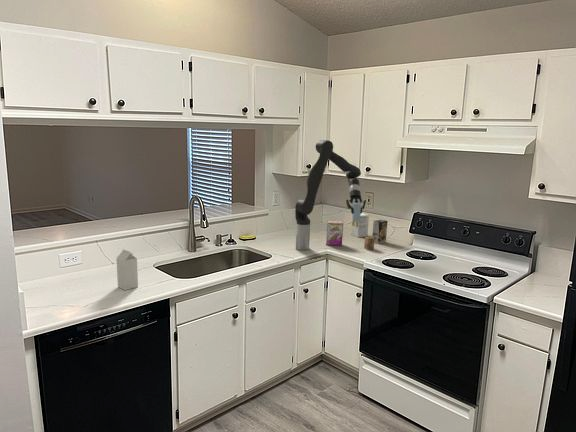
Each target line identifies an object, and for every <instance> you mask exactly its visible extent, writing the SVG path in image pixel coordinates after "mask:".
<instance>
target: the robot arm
mask: <svg viewBox="0 0 576 432" xmlns="http://www.w3.org/2000/svg"><path fill="white" fill-rule="evenodd" d="M315 150H316V152H317V154H319V156H318V159H317V160H316V161H315V163H314V164H313V166H312V167H311V168H310V170H309V172H308V175H307V178H306V187H307V188H306V189H307V191H306V195H305V199H298V200H297V202H296V204H295V207H294V208H295V209H294V211H295V212H294V215H295V221H296V224H295V225H296V227H295V229H296V230H295V250H299V251H307V250H309V249H310V241H311V240H310V239H311V238H310V236H311V219H310V218H309V216H308V215H310V214H311V213H312V212H313V210H314V207H315V202H316V198H317V194H318V191H319V188H320V185H321V183H322V179H323V176H324V172H325V171H326V167H327V164H328V162H329V161H331V162H332V163H333V164H334V165H335V166H336V167H338V168H339V169H340V170H341V171H342V172H343V173H345V177H346V179H347V182H348V185H349V187H348V188H349V189H348V190H349V192H348V194H349V199H346V200H345V203H346V207H347V209H349V210H350V213H351V214H353V213H354V209H353V203H360V204H361V211H360V214H361V213H363V210H364V209H365V207H366V204H367V203H366V202H367V200H366V199H364V200H363V199H362V191H361V186H360V180H359V179H358V178H359V177H360V176H361V175H362V172H361V170H360V168H359V167H357V166H356V165H354V164H351V163H350V162H349V161H348V160H347V159H346V158H344V157H343V156H342V155H340V154H337V153H336V152H334V151H333V150H334V144H333V142H332V141H331V140H327V139H326V140H323V139H321V140H318V141H317V142H316V143H315Z"/></svg>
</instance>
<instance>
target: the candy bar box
mask: <svg viewBox="0 0 576 432" xmlns="http://www.w3.org/2000/svg"><path fill="white" fill-rule="evenodd" d="M326 226H327V227H326V242H325V243H326V244H325V245H326V246H340V247H341V246H342V245H343V231H344V221H331V220H329V221H327V225H326Z"/></svg>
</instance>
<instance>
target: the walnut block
mask: <svg viewBox="0 0 576 432" xmlns="http://www.w3.org/2000/svg"><path fill="white" fill-rule="evenodd" d="M374 240H375V238H373V237H372V236H365V237H364V249H365V250H367V251H373V250H375V243H374Z"/></svg>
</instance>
